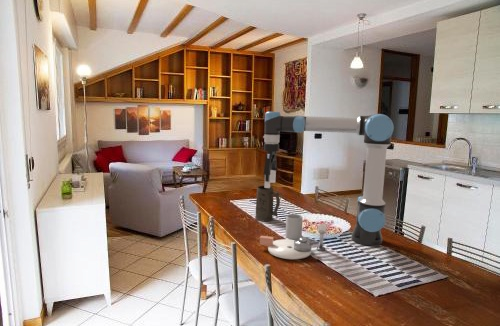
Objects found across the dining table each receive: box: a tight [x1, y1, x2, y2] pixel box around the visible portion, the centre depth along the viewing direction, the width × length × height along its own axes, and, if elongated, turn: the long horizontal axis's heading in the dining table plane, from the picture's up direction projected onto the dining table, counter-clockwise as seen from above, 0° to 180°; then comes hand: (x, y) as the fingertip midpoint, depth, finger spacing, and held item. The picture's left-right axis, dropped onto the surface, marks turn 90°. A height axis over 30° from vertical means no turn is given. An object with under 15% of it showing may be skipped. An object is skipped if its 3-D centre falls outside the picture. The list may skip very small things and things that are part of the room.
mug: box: [284, 213, 304, 240], centre depth 184 cm, size 12×8×11 cm
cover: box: [293, 236, 313, 252], centre depth 160 cm, size 8×8×5 cm
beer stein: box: [255, 185, 281, 222], centre depth 210 cm, size 15×11×20 cm
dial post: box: [316, 223, 328, 252], centre depth 166 cm, size 4×4×13 cm
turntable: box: [259, 235, 312, 260], centre depth 162 cm, size 24×20×5 cm
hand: (270, 185), depth 176 cm, fingers open, 13 cm apart
